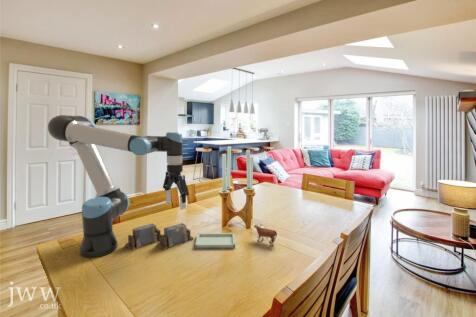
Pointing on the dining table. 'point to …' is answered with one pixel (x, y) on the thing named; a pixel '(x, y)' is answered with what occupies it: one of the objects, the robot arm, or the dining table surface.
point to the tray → (215, 240)
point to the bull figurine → (265, 233)
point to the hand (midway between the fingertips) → (175, 205)
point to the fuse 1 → (144, 234)
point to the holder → (131, 240)
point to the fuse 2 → (175, 233)
